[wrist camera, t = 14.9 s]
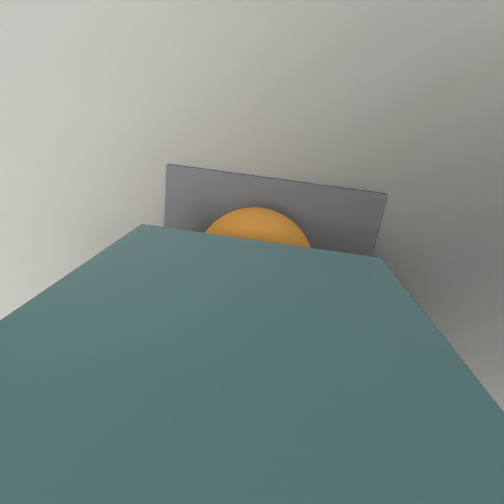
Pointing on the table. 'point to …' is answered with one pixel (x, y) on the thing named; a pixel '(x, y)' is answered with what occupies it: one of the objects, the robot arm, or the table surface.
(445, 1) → the table surface
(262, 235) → the ball
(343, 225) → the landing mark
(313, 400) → the teal toy cube
